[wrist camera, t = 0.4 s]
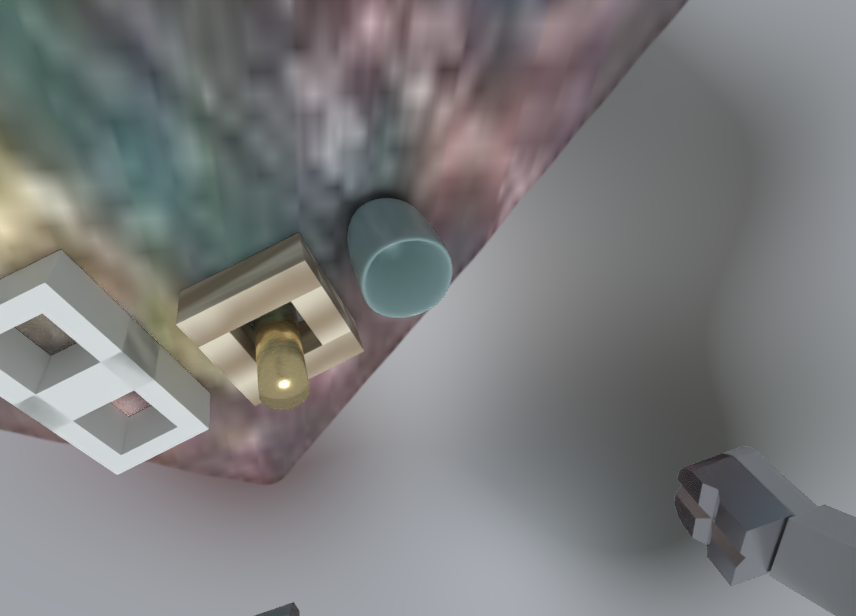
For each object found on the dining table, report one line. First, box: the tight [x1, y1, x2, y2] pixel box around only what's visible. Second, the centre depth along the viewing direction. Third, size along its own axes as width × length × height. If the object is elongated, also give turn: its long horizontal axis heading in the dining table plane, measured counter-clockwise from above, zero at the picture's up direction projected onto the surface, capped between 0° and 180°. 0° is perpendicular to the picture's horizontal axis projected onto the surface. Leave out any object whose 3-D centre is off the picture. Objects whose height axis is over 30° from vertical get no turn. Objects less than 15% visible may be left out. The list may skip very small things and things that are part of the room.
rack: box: [0, 250, 210, 475], centre depth 47 cm, size 20×10×5 cm, turn 21°
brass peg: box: [253, 301, 310, 410], centre depth 47 cm, size 4×4×12 cm
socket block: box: [176, 233, 364, 406], centre depth 50 cm, size 12×12×5 cm
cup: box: [347, 198, 452, 318], centre depth 46 cm, size 8×8×10 cm
